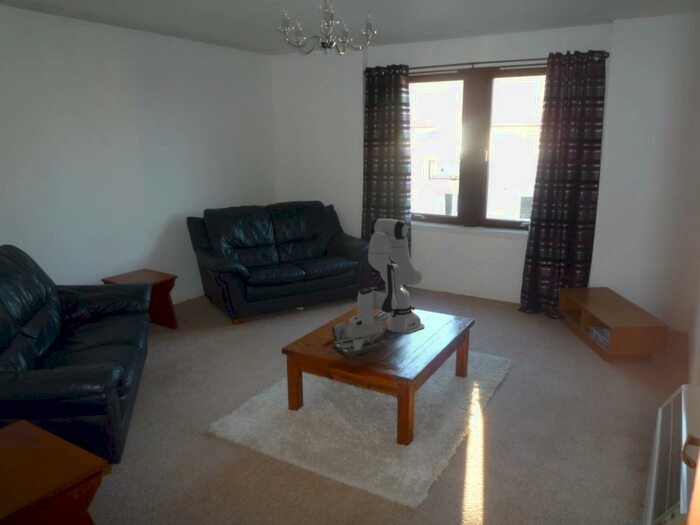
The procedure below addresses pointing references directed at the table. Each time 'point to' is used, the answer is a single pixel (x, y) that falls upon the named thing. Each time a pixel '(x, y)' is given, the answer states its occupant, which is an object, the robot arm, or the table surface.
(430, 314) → the table surface
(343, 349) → the switch bank
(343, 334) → the electrical switch
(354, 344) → the tab
